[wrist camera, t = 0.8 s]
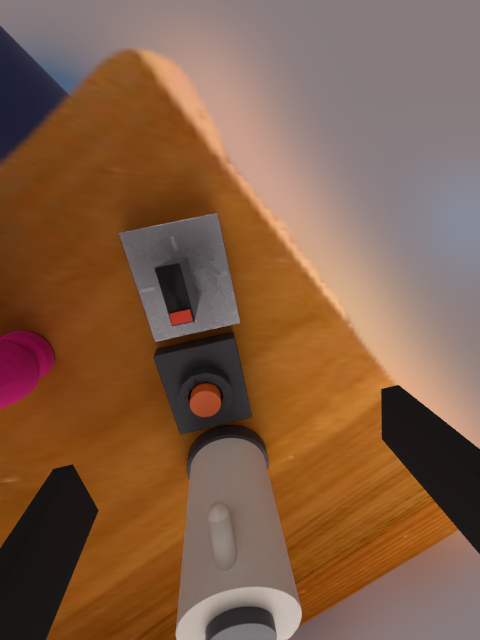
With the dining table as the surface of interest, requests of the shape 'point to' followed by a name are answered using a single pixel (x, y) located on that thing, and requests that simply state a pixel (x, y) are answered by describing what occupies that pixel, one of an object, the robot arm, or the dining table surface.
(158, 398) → the dining table surface
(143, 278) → the lever switch base
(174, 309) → the black switch lever
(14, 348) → the pepper mill
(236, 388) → the push button box
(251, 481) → the kettle
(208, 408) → the red push button
